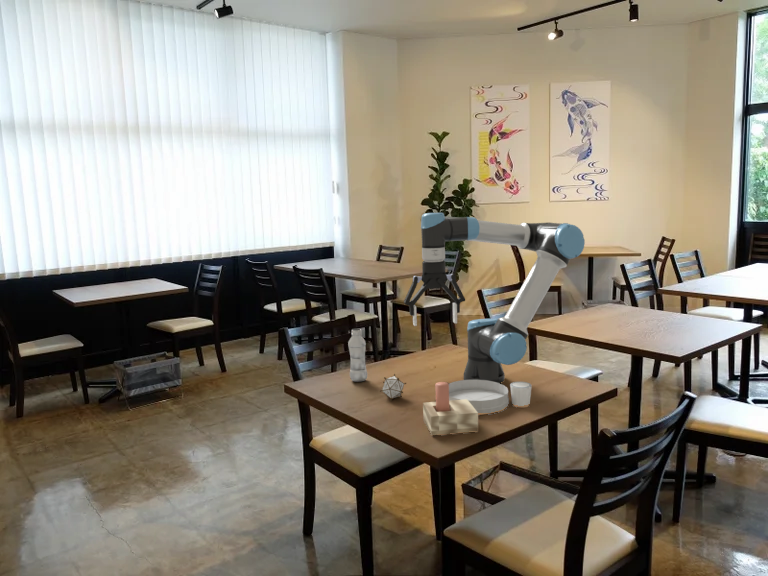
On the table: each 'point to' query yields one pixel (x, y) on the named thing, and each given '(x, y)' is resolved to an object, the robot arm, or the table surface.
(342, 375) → the table surface
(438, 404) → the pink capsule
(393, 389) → the game die
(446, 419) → the birch block
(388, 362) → the table surface
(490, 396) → the dish
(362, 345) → the plastic bottle
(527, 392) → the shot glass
